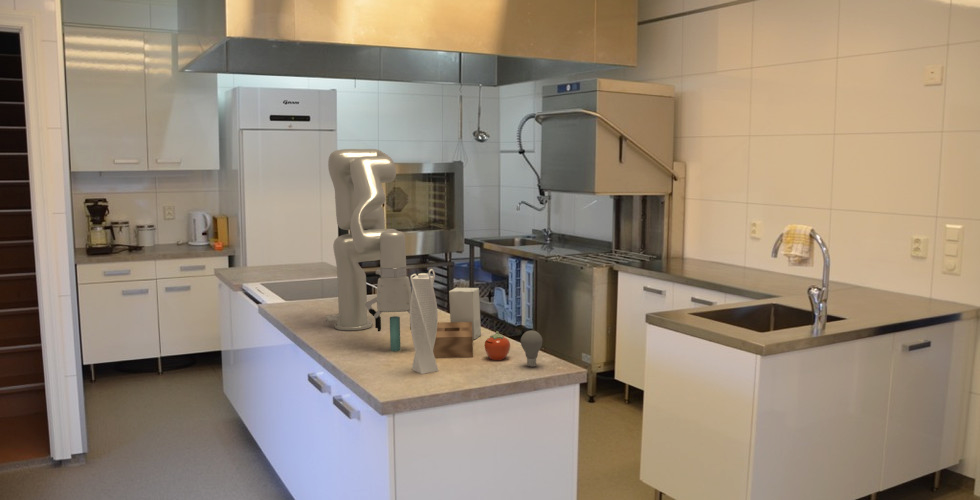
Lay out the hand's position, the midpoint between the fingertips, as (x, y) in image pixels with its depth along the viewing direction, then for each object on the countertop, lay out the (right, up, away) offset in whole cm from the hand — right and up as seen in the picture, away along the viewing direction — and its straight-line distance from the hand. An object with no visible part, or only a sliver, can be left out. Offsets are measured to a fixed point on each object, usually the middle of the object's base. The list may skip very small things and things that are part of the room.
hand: (395, 330), depth 235 cm
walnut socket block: (+17, -6, +2) cm, 18 cm away
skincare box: (+20, -4, +17) cm, 27 cm away
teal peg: (0, -6, +1) cm, 6 cm away
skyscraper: (+11, -9, -21) cm, 25 cm away
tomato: (+30, -7, -10) cm, 33 cm away
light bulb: (+40, -8, -18) cm, 44 cm away
